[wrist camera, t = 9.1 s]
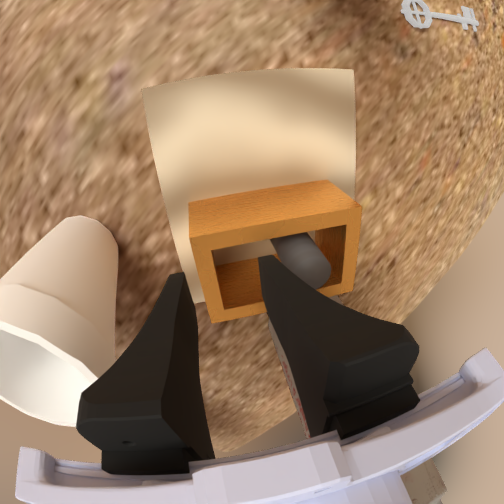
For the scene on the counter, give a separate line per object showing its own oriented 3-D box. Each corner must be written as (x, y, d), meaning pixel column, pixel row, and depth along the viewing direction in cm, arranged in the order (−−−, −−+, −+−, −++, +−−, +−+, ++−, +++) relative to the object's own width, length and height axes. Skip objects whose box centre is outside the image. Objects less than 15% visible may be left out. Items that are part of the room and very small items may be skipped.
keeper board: (341, 260, 27) (381, 314, 20) (191, 292, 25) (197, 360, 19) (343, 69, 17) (409, 71, 11) (144, 89, 16) (117, 89, 10)
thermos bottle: (275, 349, 32) (357, 583, 8) (260, 301, 27) (368, 606, 4) (340, 326, 32) (447, 540, 9) (338, 275, 28) (489, 539, 4)
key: (392, -6, 14) (402, 28, 16) (399, -7, 13) (410, 27, 15) (470, 9, 14) (476, 36, 16) (476, 9, 13) (483, 36, 15)
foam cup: (31, 193, 17) (-66, 301, 6) (138, 200, 20) (95, 335, 9) (46, 290, 22) (1, 409, 11) (137, 300, 24) (125, 435, 14)
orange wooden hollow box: (205, 278, 23) (211, 323, 19) (188, 202, 19) (188, 238, 15) (325, 253, 24) (352, 290, 20) (327, 179, 20) (362, 206, 16)
